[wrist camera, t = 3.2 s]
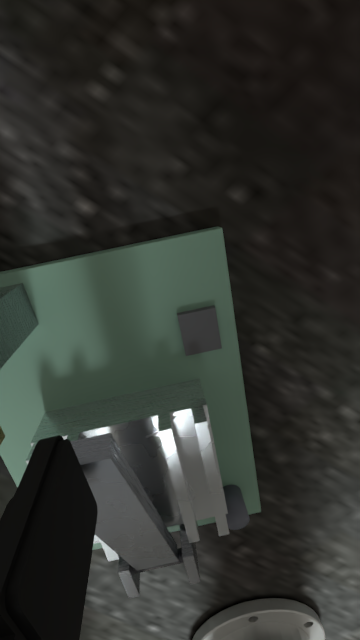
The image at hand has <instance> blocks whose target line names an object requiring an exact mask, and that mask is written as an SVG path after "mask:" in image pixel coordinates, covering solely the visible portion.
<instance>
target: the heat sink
mask: <svg viewBox="0 0 360 640" xmlns="http://www.w3.org/2000/svg"><path fill="white" fill-rule="evenodd" d="M38 324H39V323H38V320H37V318H36V315H35V313H34V310H33V308H32V305H31V303H30V300H29V297H28V295H27V292H26V290H25V287H24V285H23V283H20V284H15V285H11V286H6V287H1V288H0V369H1V368H2V367H3V366H4V364H5V363H6V362H7V361H8V360H9V358H10V357H11V356H12V355H13V354H14V353H15V351H16V350H17V349H18V348H19V347H20V346H21V344H22V343H23V342H24V341H25V340H26V338H27V337H28V336H29V335H30V334H31V333H32V331H33V330H34V329H35V328H36V327H37V326H38ZM107 433H111V434H112V436H113V438H114V439H115V441H116V443H117V444H118V446H119V448H120V449H121V451H122V453H123V454H124V456H125V458H126V460H127V461H128V463H129V465H130V466H131V468H132V470H133V471H134V473H135V475H136V476H137V478H138V480H139V481H140V483H141V485H142V487H143V488H144V490H145V492H146V493H147V495H148V497H149V498H150V500H151V502H152V503H153V505H154V507H155V508H156V510H157V512H158V514H159V515H160V517H161V519H162V520H163V522H164V524H165V525H166V527H171V526H175V525H179V526H180V537H181V547H182V548H180V549H177V550H178V558H179V561H177V562H173V563H168V564H164V565H160V566H155V567H151V568H146V569H142V570H138V571H137V570H136V569H134V568H133V567H132V566H131V565H130V564H129V563H127V562H126V561H125V560H124V559H123V558H122V557H120V556H119V555H118V554H117V553H116V552H115V551H113V550H112V549H111V548H110V547H109V546H108V545H106V544H105V543H104V542H103V541H102V540H101V539H99V538H98V537H97V536H96V535H95V536H94V542H93V544H95V543H101V545H102V547H103V550H104V552H105V554H106V556H107V559H108V561H113V560H117V559H119V568H118V574H119V576H120V578H121V581H122V583H123V585H124V588H125V590H126V592H127V595H128V597H129V598H132V597H137V596H139V585H140V572H145V571H149V570H153V569H158V568H162V567H167V566H171V565H175V564H180V563H184V565H185V568H186V571H187V575H188V578H189V582H190V584H194V583H198V582H200V575H199V567H198V560H197V553H196V545H195V542H197V541H200V538H199V532H198V525H197V520H202V519H206V518H210V517H215V520H216V525H217V529H218V534H219V536H223V535H228V534H229V529H228V524H227V519H226V514H228V511H227V506H226V501H225V496H224V490H223V485H222V480H221V475H220V470H219V465H218V460H217V455H216V449H215V444H214V439H213V434H212V429H211V424H210V419H209V414H208V408H207V404H206V400H205V397H204V393H203V389H202V386H201V382H200V379H199V378H198V379H194V380H189V381H185V382H180V383H176V384H171V385H166V386H162V387H157V388H153V389H148V390H143V391H139V392H134V393H130V394H125V395H120V396H116V397H111V398H107V399H102V400H98V401H93V402H88V403H84V404H79V405H75V406H70V407H65V408H61V409H56V410H52V411H47V412H45V413H44V416H43V418H42V420H41V422H40V424H39V426H38V428H37V430H36V432H35V434H34V437H33V439H32V441H31V443H30V444H31V446H32V448H31V451H30V453H29V455H28V457H27V459H26V463H27V465H28V463H29V460H30V458H31V456H32V451H33V450H34V449H35V446H36V444H37V442H38V441H39V440H40V439H45V438H49V437H54V436H58V435H60V436H62V437H63V439H64V440H65V439H69V440H70V442H71V441H75V440H80V439H84V438H89V437H93V436H98V435H103V434H107Z"/></svg>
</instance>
